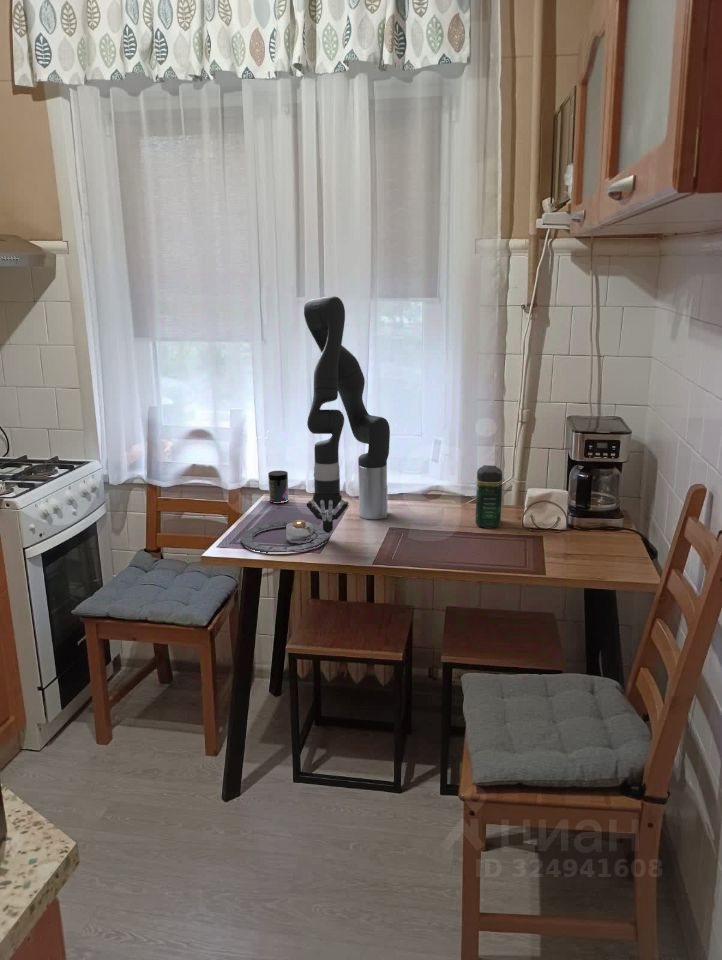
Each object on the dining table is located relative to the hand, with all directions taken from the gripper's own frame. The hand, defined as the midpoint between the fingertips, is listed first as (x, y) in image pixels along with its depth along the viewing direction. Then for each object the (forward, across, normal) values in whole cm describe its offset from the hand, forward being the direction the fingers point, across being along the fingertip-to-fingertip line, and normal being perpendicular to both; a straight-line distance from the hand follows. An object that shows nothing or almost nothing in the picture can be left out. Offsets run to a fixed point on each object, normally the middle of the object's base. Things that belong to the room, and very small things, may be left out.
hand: (328, 532), depth 237 cm
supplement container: (+3, +23, -38) cm, 44 cm away
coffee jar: (+2, -49, -18) cm, 52 cm away
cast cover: (+3, +9, 0) cm, 9 cm away
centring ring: (+3, +13, 0) cm, 13 cm away
